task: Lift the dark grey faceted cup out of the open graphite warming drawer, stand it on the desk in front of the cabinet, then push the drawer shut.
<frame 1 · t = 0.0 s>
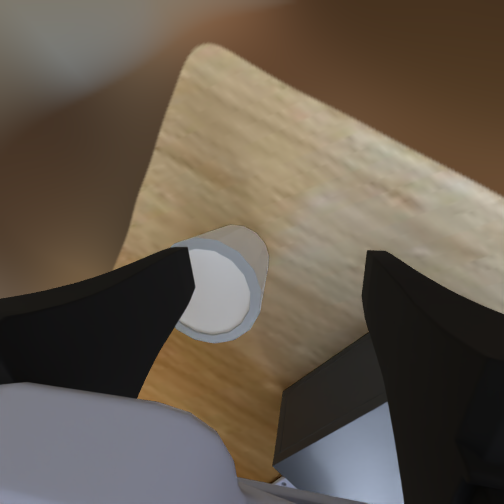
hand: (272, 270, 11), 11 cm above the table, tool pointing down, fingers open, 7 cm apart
white cylinder: (236, 257, 23), on the table
dark grey cabinet: (396, 409, 24), on the table
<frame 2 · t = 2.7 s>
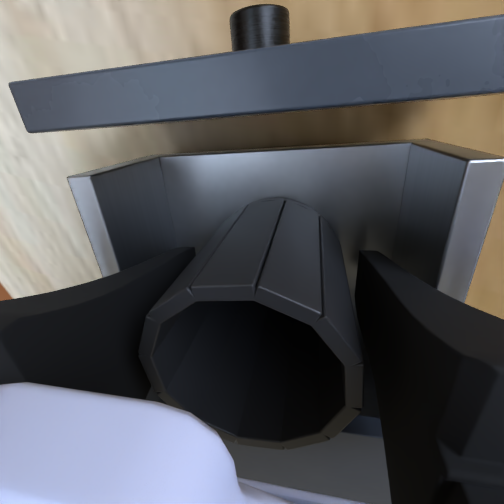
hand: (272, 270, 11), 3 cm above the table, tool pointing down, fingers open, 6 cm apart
drawer: (271, 256, 11), point 3 cm above the table, slide at 9.5 cm, touching gripper, dark grey faceted cup
dark grey faceted cup: (276, 256, 12), point 2 cm above the table, touching drawer
dark grey cabinet: (285, 387, 19), on the table
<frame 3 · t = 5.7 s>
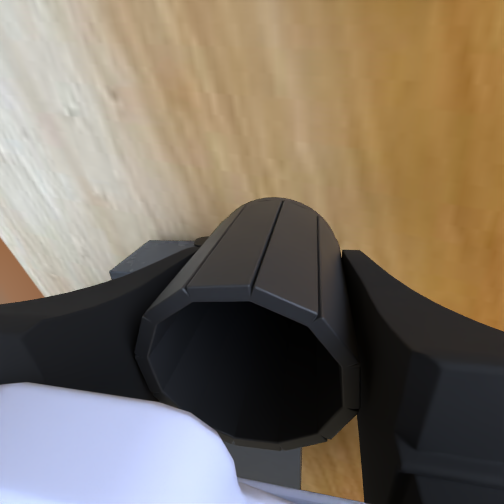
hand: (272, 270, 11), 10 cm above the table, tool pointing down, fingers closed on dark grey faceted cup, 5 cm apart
drawer: (218, 323, 22), point 3 cm above the table, slide at 9.5 cm
dark grey faceted cup: (275, 256, 12), point 9 cm above the table, touching gripper
dark grey cabinet: (241, 386, 30), on the table
when the fingers open (1 cm above the table, at t = 8.6 s): dark grey faceted cup stays where it is, on the table.
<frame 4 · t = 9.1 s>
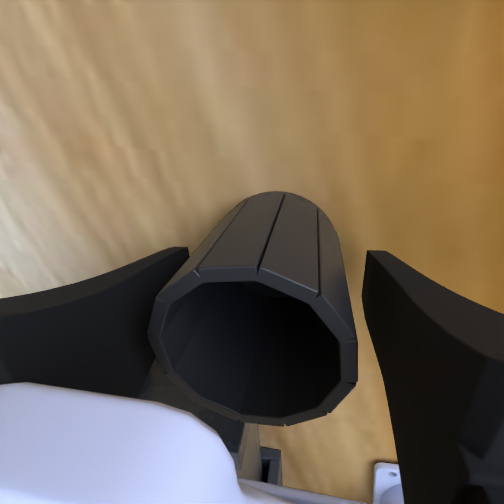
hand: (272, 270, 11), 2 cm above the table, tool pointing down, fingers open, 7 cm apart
drawer: (158, 447, 16), point 3 cm above the table, slide at 9.5 cm
dark grey faceted cup: (276, 248, 13), on the table
dark grey cabinet: (207, 484, 24), on the table
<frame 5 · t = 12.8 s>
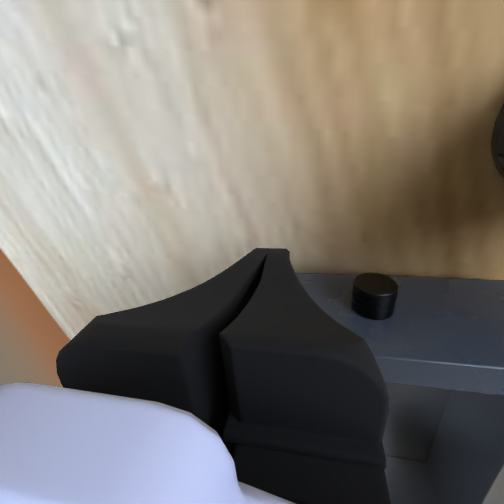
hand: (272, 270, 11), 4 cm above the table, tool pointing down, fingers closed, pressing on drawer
drawer: (358, 405, 14), point 3 cm above the table, slide at 8.6 cm, touching gripper
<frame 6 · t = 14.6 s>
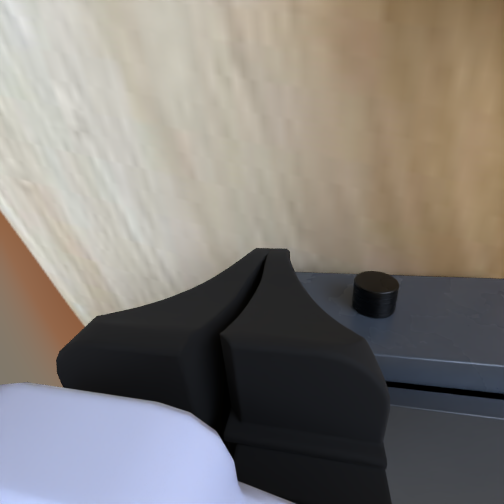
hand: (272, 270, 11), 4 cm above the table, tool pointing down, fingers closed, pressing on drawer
drawer: (359, 405, 14), point 3 cm above the table, slide at 0.0 cm, touching gripper, dark grey cabinet
dark grey cabinet: (348, 379, 18), on the table
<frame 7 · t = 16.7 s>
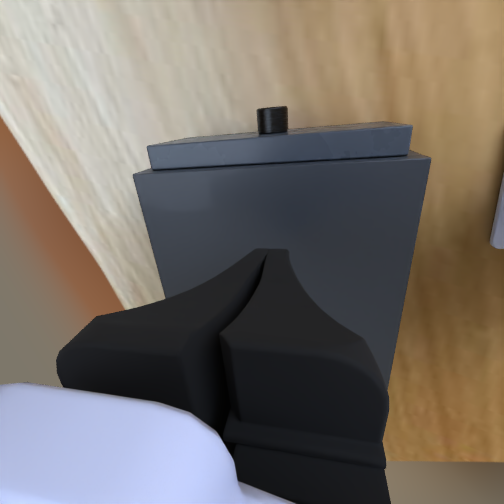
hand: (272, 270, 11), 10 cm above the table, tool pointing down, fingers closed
drawer: (278, 237, 17), point 3 cm above the table, slide at 0.0 cm, touching dark grey cabinet
dark grey cabinet: (284, 246, 21), on the table
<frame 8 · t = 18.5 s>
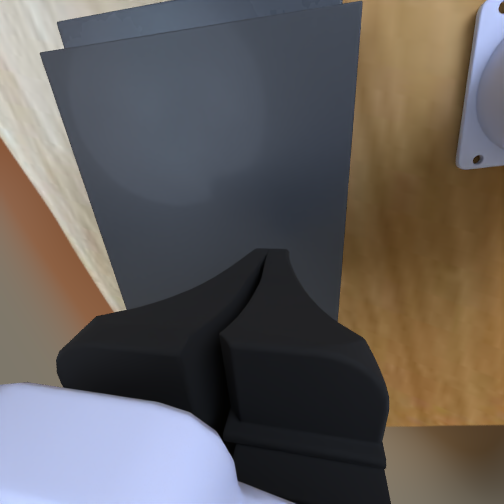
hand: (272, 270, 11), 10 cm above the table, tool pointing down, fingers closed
drawer: (221, 151, 16), point 3 cm above the table, slide at 0.0 cm, touching dark grey cabinet
dark grey cabinet: (239, 179, 20), on the table
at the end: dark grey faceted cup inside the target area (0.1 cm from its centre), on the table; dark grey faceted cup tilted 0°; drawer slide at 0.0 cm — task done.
